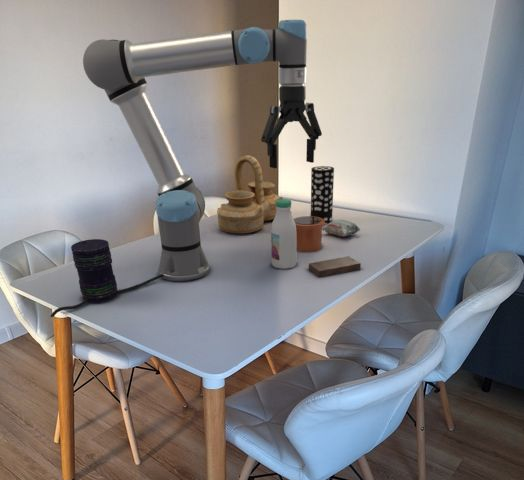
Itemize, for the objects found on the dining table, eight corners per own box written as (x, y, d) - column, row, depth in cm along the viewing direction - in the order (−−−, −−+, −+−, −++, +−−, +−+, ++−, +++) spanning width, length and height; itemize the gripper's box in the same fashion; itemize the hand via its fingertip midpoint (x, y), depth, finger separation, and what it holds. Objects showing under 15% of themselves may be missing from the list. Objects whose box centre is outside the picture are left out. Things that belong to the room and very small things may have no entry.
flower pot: (299, 254, 168) (299, 227, 163) (285, 244, 177) (285, 218, 172) (329, 249, 171) (330, 222, 167) (314, 239, 180) (314, 214, 176)
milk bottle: (297, 260, 163) (297, 197, 153) (295, 269, 156) (296, 203, 146) (272, 260, 164) (271, 197, 154) (270, 269, 157) (269, 203, 147)
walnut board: (319, 277, 150) (319, 271, 149) (308, 269, 156) (308, 263, 155) (360, 269, 155) (360, 263, 154) (348, 262, 160) (348, 256, 159)
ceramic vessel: (253, 238, 184) (250, 166, 171) (209, 233, 191) (203, 163, 179) (291, 214, 210) (290, 149, 197) (251, 210, 217) (248, 147, 205)
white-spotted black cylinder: (307, 220, 201) (308, 167, 191) (326, 217, 203) (328, 165, 193) (315, 226, 195) (316, 171, 184) (335, 223, 197) (337, 169, 187)
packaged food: (344, 241, 178) (345, 227, 175) (319, 234, 185) (320, 220, 183) (360, 235, 183) (361, 222, 180) (335, 229, 190) (336, 216, 188)
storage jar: (125, 295, 143) (115, 244, 136) (93, 307, 137) (81, 253, 130) (107, 286, 150) (97, 236, 142) (76, 296, 144) (64, 245, 136)
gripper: (262, 88, 134) (264, 172, 145) (335, 83, 146) (332, 161, 157) (247, 87, 140) (250, 168, 151) (319, 82, 151) (317, 158, 162)
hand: (292, 164), depth 154 cm, fingers open, 13 cm apart
